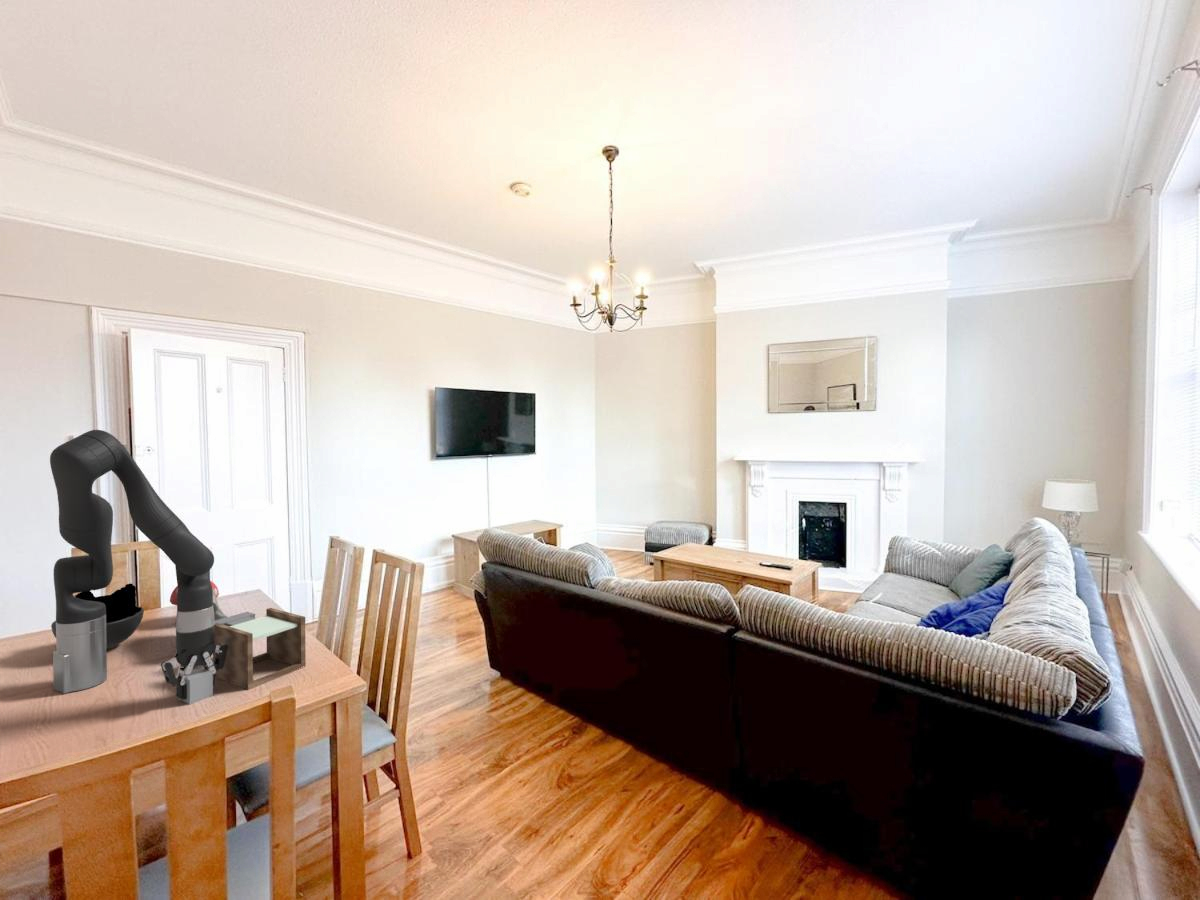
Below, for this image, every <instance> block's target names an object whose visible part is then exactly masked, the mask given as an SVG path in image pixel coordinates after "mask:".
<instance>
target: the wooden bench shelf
mask: <svg viewBox="0 0 1200 900" xmlns="http://www.w3.org/2000/svg"><path fill="white" fill-rule="evenodd" d="M265 614H266V615H265V616H270V617H274V618H278V619H281V620H285V621H289V622H292V623H296V624H297V627H295V628H292V629H289V630H286V631H283V632H280V633H277V634H274V635H271V636H268V637H266V652H264V653H260V654H259V655H255V656H253V655H254V654H253V653H254V646H253V642H254V641H253V634H252V633H249V632H245V631H242V630H239V629H236V628H232V627H229V626H226V625H223V624H219V623H215V624H214V633H215V639H214V643H215V645H219V644H220V643H223V644H226V645H228V650H227V654H226V659H225V663H224V667H223V668H222V669H219V670H218V671H216V673H215V678H218V679H219V680H223V681H225V682H228V683H230V684H233V685H236V686H239V687H240V688H243V689H246V690H251V689H254V688H256V687H258V686H261V685H264V684H266V683H268V682H271V681H273V680H276V679H278V678H280V677H283V676H285V674H286V675H288V674H291V673H293V672H295V670H296V671H297V669H298V670H300V669H302V668H301V667H303V666H305V665H306V616H303V615H299V614H295V613H292V612H288V611H284V610H280V609H277V608H273V607H269V608H268V607H267V608H266V613H265ZM215 656H216V652H215V651H214V653H213V654H212V662H213V664H214V660H215ZM268 658H271V659H274V660H277V661H279V662H283V663H285V664H288V665H290V666H287V667H284V668H283V669H280V670H278V671H275V672H272V673H270V674H269V673H268V674H267V675H265V676H262V677H259V678H258V679H257V678H256V679H255V680H254V664H255V663H258V662H260V661H263V660H265V659H268ZM305 667H306V666H305ZM299 668H300V669H299ZM303 668H304V667H303Z"/></svg>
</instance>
